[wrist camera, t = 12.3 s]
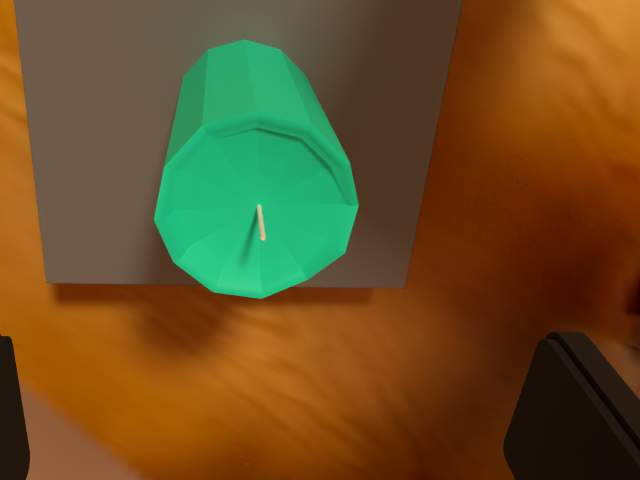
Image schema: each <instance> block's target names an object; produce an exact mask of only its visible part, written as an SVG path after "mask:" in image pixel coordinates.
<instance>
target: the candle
mask: <svg viewBox="0 0 640 480" xmlns="http://www.w3.org/2000/svg"><path fill="white" fill-rule="evenodd" d="M358 206H359V204H358V199H357V195H356V190H355V185H354V180H353V175H352V170H351V165H350V162H349V160H348V158H347V156H346V154H345V152H344V150H343V148H342V146H341V144H340V142H339V140H338V138H337V136H336V134H335V132H334V130H333V128H332V127H331V125H330V123H329V121H328V119H327V117H326V115H325V113H324V111H323V109H322V107H321V105H320V103H319V101H318V99H317V97H316V95H315V93H314V91H313V89H312V87H311V85H310V83H309V81H308V79H307V77H306V75H305V74H304V73H303V72H302V71H301V70H300V69H299V68H298V67H297V66H296V65H295V64H294V63H293V62H292V61H291V60H290V59H289V58H288V57H287V56H286V55H285V54H284V53H283V52H282V51H281V50H280V49H277V48H274V47H270V46H266V45H263V44H259V43H255V42H252V41H248V40H240V41H237V42H233V43H229V44H226V45H222V46H219V47H215V48H211V49H208V50H207V51H206V52H205V53H204V54H203V56H202V57H201V58H200V59H199V60H198V61H197V62H196V63H195V64H194V65H193V66H192V67H191V68H190V70H189V71H188V72H187V73H186V74H185V75H184V76H183V80H182V85H181V90H180V94H179V99H178V104H177V108H176V113H175V118H174V123H173V127H172V132H171V137H170V141H169V146H168V151H167V155H166V160H165V165H164V170H163V175H162V180H161V185H160V191H159V196H158V201H157V206H156V211H155V217H154V222H155V224H156V226H157V228H158V230H159V232H160V235H161V237H162V239H163V241H164V243H165V245H166V247H167V250H168V252H169V254H170V256H171V258H172V260H173V262H174V263H175V264H176V265H178V266H179V267H180V268H182V269H183V270H184V271H186V272H187V273H188V274H189V275H191V276H192V277H193V278H195V279H196V280H197V281H199V282H200V283H201V284H203V285H204V286H205V287H207V288H208V289H209V290H211V291H212V292H215V293H222V294H230V295H237V296H244V297H252V298H259V299H263V298H265V297H267V296H270V295H272V294H275V293H277V292H279V291H282V290H284V289H287V288H289V287H291V286H294V285H296V284H299V283H301V282H304V281H306V280H308V279H310V278H311V277H312V276H314V275H315V274H317V273H318V272H319V271H321V270H322V269H324V268H325V267H326V266H328V265H329V264H331V263H332V262H333V261H335V260H336V259H338V258H339V257H341V256H342V255H343V254H345V251H346V248H347V244H348V241H349V237H350V234H351V231H352V227H353V224H354V220H355V217H356V213H357V210H358Z"/></svg>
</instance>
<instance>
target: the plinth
mask: <svg viewBox="0 0 640 480" xmlns="http://www.w3.org/2000/svg"><path fill="white" fill-rule="evenodd" d="M462 2H463V0H14V4H15V13H16V22H17V31H18V39H19V48H20V57H21V65H22V74H23V83H24V92H25V100H26V109H27V118H28V127H29V135H30V144H31V153H32V162H33V170H34V179H35V188H36V196H37V205H38V214H39V223H40V231H41V240H42V249H43V258H44V266H45V275H46V283H82V284H146V285H203V284H201V283H200V282H199V281H197V280H196V279H195V278H193V277H192V276H191V275H189V274H188V273H187V272H186V271H184V270H183V269H182V268H180V267H179V266H178V265H176V264H175V263H174V262H173V260H172V258H171V256H170V254H169V252H168V250H167V247H166V245H165V243H164V241H163V239H162V237H161V235H160V232H159V230H158V228H157V226H156V224H155V222H154V217H155V211H156V206H157V201H158V196H159V191H160V185H161V180H162V175H163V170H164V165H165V160H166V155H167V151H168V146H169V141H170V137H171V132H172V127H173V123H174V118H175V113H176V108H177V104H178V99H179V94H180V90H181V85H182V80H183V76H184V75H185V74H186V73H187V72H188V71H189V70H190V68H191V67H192V66H193V65H194V64H195V63H196V62H197V61H198V60H199V59H200V58H201V57H202V56H203V54H204V53H205V52H206V51H207V50H208V49H211V48H215V47H219V46H222V45H226V44H229V43H233V42H237V41H240V40H248V41H252V42H255V43H259V44H263V45H266V46H270V47H274V48H277V49H280V50H281V51H282V52H283V53H284V54H285V55H286V56H287V57H288V58H289V59H290V60H291V61H292V62H293V63H294V64H295V65H296V66H297V67H298V68H299V69H300V70H301V71H302V72H303V73H304V74H305V75H306V77H307V79H308V81H309V83H310V85H311V87H312V89H313V91H314V93H315V95H316V97H317V99H318V101H319V103H320V105H321V107H322V109H323V111H324V113H325V115H326V117H327V119H328V121H329V123H330V125H331V127H332V128H333V130H334V132H335V134H336V136H337V138H338V140H339V142H340V144H341V146H342V148H343V150H344V152H345V154H346V156H347V158H348V160H349V162H350V165H351V170H352V175H353V180H354V185H355V190H356V195H357V199H358V204H359V206H358V210H357V213H356V217H355V220H354V224H353V227H352V231H351V234H350V237H349V241H348V244H347V248H346V251H345V254H343V255H342V256H341V257H339V258H338V259H336V260H335V261H333V262H332V263H331V264H329V265H328V266H326V267H325V268H324V269H322V270H321V271H319V272H318V273H317V274H315V275H314V276H312V277H311V278H310V279H308V280H306V281H304V282H301V283H299V284H296V285H294V286H291V287H339V288H405V283H406V279H407V274H408V269H409V264H410V259H411V254H412V249H413V244H414V239H415V234H416V229H417V224H418V219H419V214H420V209H421V204H422V199H423V194H424V189H425V185H426V180H427V175H428V170H429V165H430V160H431V155H432V150H433V145H434V140H435V135H436V130H437V125H438V120H439V115H440V110H441V105H442V100H443V95H444V91H445V86H446V81H447V76H448V71H449V66H450V61H451V56H452V51H453V46H454V41H455V36H456V31H457V26H458V21H459V16H460V11H461V6H462Z"/></svg>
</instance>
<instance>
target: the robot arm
mask: <svg viewBox="0 0 640 480" xmlns="http://www.w3.org/2000/svg"><path fill="white" fill-rule="evenodd" d="M504 455H505V459H506V461H507V463H508V465H509V467H510V469H511V471H512V473H513V475H514V477H515V480H640V400H639V399H638V397H637V396H636V395H635V394H634V393H633V391H632V390H631V389H630V388H629V386H628V385H627V384H626V383H625V382H624V380H623V379H622V378H621V377H620V376H619V374H618V373H617V372H616V371H615V369H614V368H613V367H612V366H611V365H610V363H609V362H608V361H607V360H606V358H605V357H604V356H603V355H602V354H601V352H600V351H599V350H598V349H597V348H596V346H595V345H594V344H593V343H592V341H591V340H590V339H589V338H588V337H587V336H586V335H585V334H584V333H581V332H551V333H549V334H548V335H547V337H546V339H543V340H541V341H540V342H539V343H538V345H537V348H536V351H535V353H534V356H533V359H532V362H531V365H530V368H529V371H528V374H527V376H526V379H525V382H524V385H523V388H522V391H521V394H520V396H519V399H518V402H517V405H516V408H515V411H514V414H513V417H512V419H511V422H510V425H509V428H508V431H507V434H506V437H505V440H504ZM29 463H30V450H29V444H28V437H27V431H26V425H25V419H24V412H23V407H22V400H21V393H20V387H19V381H18V375H17V368H16V362H15V356H14V349H13V343H12V340H11V338H10V337H9V336H1V335H0V480H26V477H27V474H28V469H29Z"/></svg>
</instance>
